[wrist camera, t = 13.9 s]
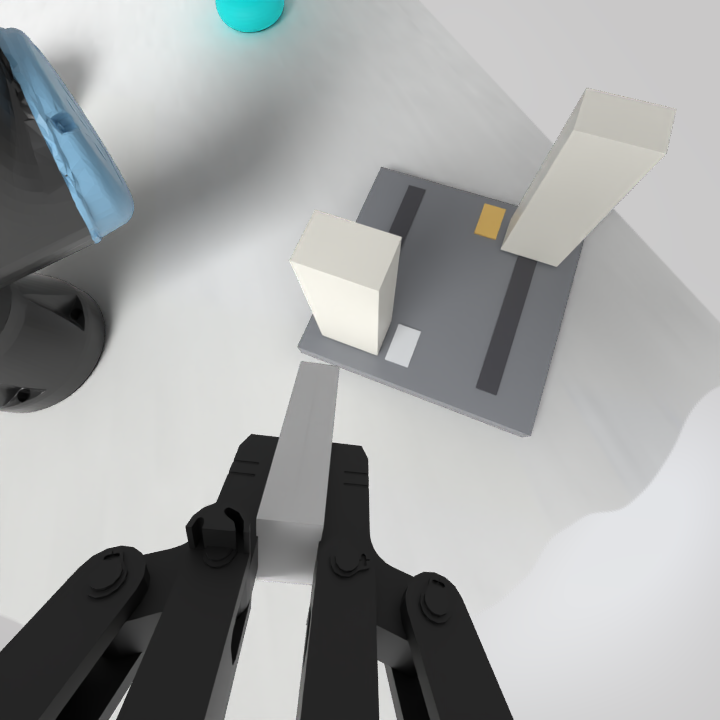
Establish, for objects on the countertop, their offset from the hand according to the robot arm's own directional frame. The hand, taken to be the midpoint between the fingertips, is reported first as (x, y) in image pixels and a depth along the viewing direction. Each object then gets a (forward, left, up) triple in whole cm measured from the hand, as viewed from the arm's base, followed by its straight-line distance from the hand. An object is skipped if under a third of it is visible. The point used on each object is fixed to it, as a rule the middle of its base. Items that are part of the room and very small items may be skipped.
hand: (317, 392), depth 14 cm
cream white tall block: (+11, +25, -19) cm, 34 cm away
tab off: (-3, +10, -19) cm, 22 cm away
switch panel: (+4, +18, -22) cm, 28 cm away
